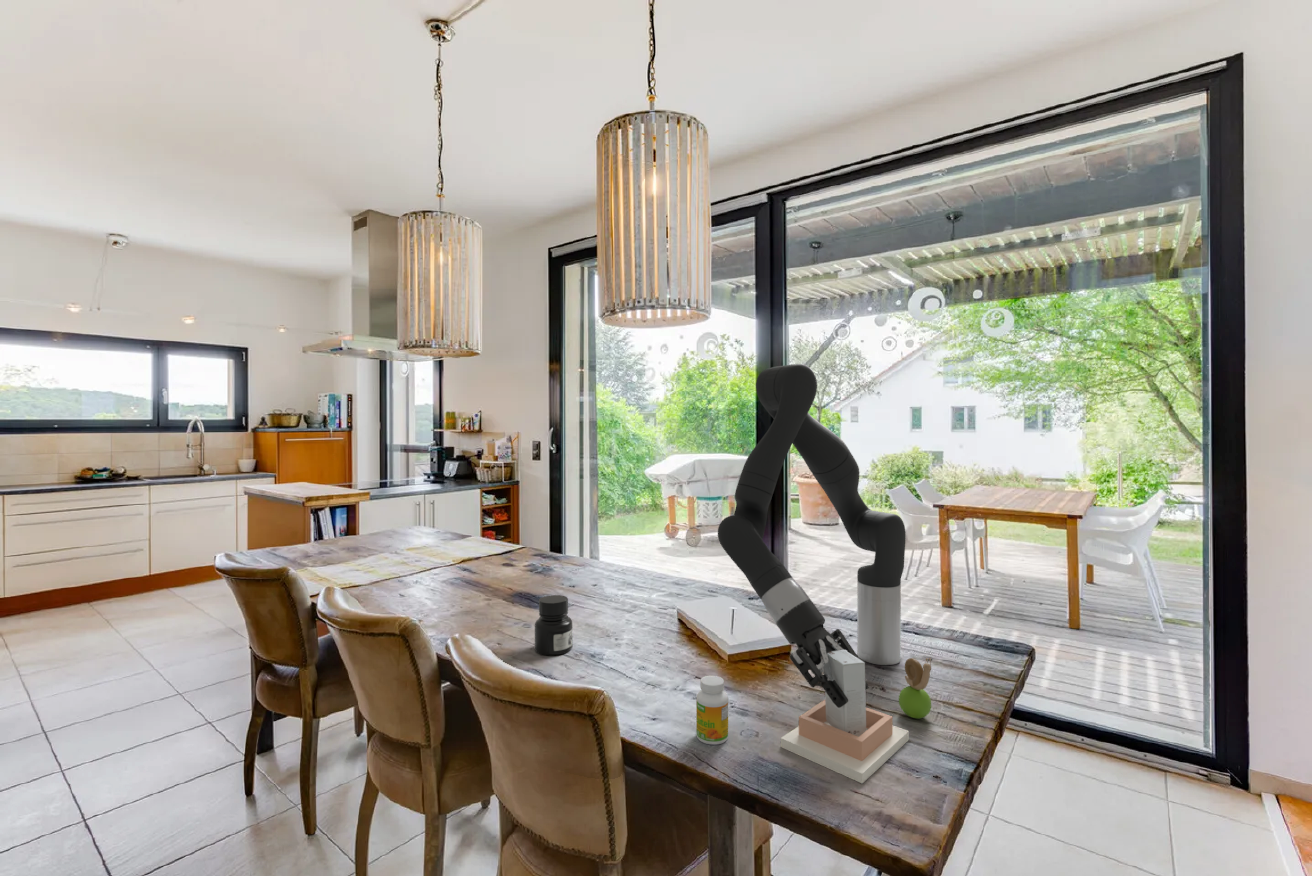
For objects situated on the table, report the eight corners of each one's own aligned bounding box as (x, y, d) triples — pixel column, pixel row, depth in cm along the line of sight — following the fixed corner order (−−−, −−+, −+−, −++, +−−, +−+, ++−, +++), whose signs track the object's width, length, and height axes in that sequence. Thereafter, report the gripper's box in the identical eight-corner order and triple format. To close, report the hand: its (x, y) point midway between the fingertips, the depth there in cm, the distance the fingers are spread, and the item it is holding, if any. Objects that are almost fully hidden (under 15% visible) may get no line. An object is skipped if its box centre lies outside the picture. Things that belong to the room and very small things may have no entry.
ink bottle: (564, 658, 133) (563, 606, 133) (527, 655, 135) (527, 604, 135) (578, 643, 143) (577, 594, 143) (544, 640, 145) (543, 592, 144)
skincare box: (867, 736, 95) (868, 662, 94) (843, 740, 94) (843, 665, 93) (846, 718, 101) (846, 648, 100) (822, 721, 100) (823, 650, 99)
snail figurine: (916, 729, 102) (917, 660, 101) (892, 711, 108) (892, 647, 108) (942, 724, 103) (942, 657, 103) (916, 707, 109) (917, 644, 109)
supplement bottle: (690, 739, 98) (690, 682, 98) (705, 726, 103) (705, 671, 103) (719, 749, 95) (718, 690, 95) (733, 734, 100) (733, 678, 100)
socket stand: (832, 711, 108) (832, 687, 108) (908, 740, 98) (908, 713, 98) (780, 747, 96) (780, 720, 96) (862, 783, 86) (862, 753, 86)
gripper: (782, 607, 97) (848, 701, 89) (826, 590, 107) (889, 673, 99) (756, 631, 101) (817, 723, 93) (800, 612, 111) (859, 694, 103)
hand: (854, 697), depth 96 cm, fingers open, 6 cm apart
